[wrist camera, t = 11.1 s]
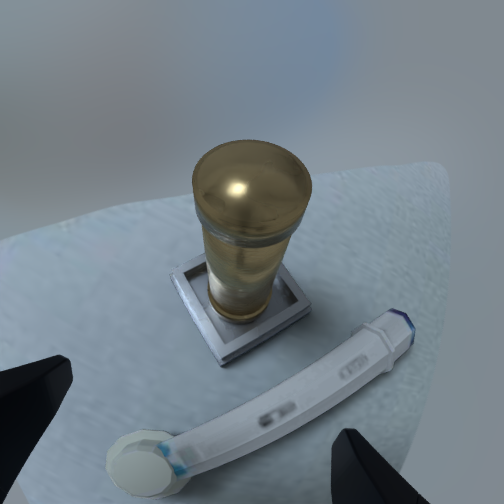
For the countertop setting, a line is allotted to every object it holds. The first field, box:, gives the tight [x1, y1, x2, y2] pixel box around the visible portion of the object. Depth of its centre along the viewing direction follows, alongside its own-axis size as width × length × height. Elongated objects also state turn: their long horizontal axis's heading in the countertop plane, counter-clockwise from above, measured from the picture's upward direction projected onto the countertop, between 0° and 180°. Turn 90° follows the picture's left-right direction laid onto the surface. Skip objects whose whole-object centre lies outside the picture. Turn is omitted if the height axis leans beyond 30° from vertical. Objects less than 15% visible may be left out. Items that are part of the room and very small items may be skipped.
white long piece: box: [105, 308, 415, 500], centre depth 17 cm, size 5×7×25 cm
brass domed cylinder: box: [192, 140, 312, 324], centre depth 17 cm, size 5×5×13 cm
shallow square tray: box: [169, 253, 312, 367], centre depth 23 cm, size 8×8×2 cm
